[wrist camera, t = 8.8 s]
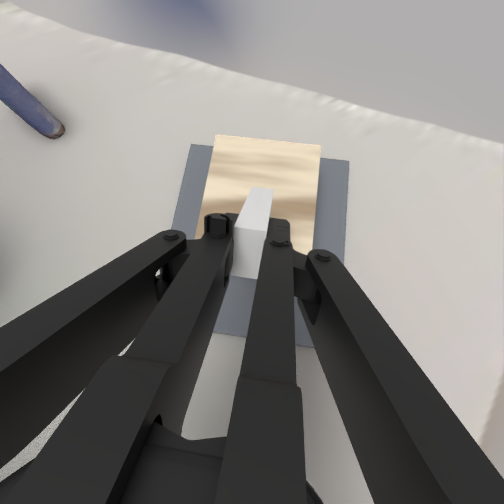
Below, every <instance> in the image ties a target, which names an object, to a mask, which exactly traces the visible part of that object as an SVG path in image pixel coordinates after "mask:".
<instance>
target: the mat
mask: <svg viewBox="0 0 504 504" xmlns="http://www.w3.org/2000/svg"><path fill="white" fill-rule="evenodd" d="M213 147H214V146H205V145H196V144H191V146H190V151H189V155H188V159H187V163H186V168H185V172H184V176H183V181H182V185H181V189H180V193H179V198H178V202H177V206H176V211H175V215H174V219H173V223H172V228H171V229H173V230H179V231H182V232H184V233H185V234H186V240H192V239H195V234H196V229H197V225H198V220H199V215H200V210H201V205H202V200H203V196H204V191H205V186H206V181H207V176H208V171H209V167H210V162H211V157H212V152H213ZM348 174H349V161H345V160H336V159H326V158H320V165H319V176H318V188H317V199H316V211H315V222H314V234H313V245H312V250H313V249H324V250H328V251H330V252H332V253H333V254H335V255H336V256H337V257H338V258H339V260H340V261H341V262H342V264H343V265H344V248H345V229H346V211H347V193H348ZM231 269H232V268H231ZM256 283H257V279H251V278H245V277H238V276H231V271H230V279H229V284H228V287H227V290H226V293H225V296H224V299H223V302H222V305H221V308H220V311H219V314H218V317H217V320H216V323H215V326H214V330H213V332H215V333H222V334H228V335H235V336H241V337H247V332H248V327H249V322H250V316H251V311H252V305H253V300H254V294H255V289H256ZM294 317H295V345H300V346H307V347H313V348H315V347H314V345H313V342H312V340H311V337H310V334H309V332H308V329H307V327H306V324H305V321H304V319H303V316H302V313H301V311H300V308H299V306H298V303H297V297H295V296H294Z"/></svg>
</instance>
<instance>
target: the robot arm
mask: <svg viewBox="0 0 504 504" xmlns="http://www.w3.org/2000/svg"><path fill="white" fill-rule="evenodd" d="M273 193H274V189H268V188H260V187H252V188H251V190H250V192H249V194H248V196H247V199H246V201H245V203H244V205H243V208H242V210H241V212H240V214H235V213H228V212H227V213H225V214H222V213H211V214H208V215H206V216H204V234H203V236H202V237H201V239H192V240H186V234H185V233H184V232H182V231H179V230H173V229H171V230H166V231H162V232H160V233H158V234H156V235H155V236H153V237H151V238H150V239H148V240H146V241H145V242H143V243H141V244H140V245H138V246H136V247H135V248H133V249H131V250H130V251H128V252H126V253H125V254H123V255H121V256H120V257H118V258H116V259H114V260H113V261H111V262H109V263H108V264H106V265H104V266H103V267H101V268H99V269H98V270H96V271H94V272H93V273H91V274H89V275H88V276H86V277H84V278H83V279H81V280H79V281H78V282H76V283H74V284H73V285H71V286H69V287H68V288H66V289H64V290H63V291H61V292H59V293H57V294H56V295H54V296H52V297H51V298H49V299H47V300H46V301H44V302H42V303H41V304H39V305H37V306H36V307H34V308H32V309H31V310H29V311H27V312H26V313H24V314H22V315H21V316H19V317H17V318H16V319H14V320H12V321H11V322H9V323H7V324H6V325H4V326H2V327H0V469H1V468H2V467H3V466H4V465H6V464H7V463H8V462H9V461H10V460H12V459H13V458H14V457H15V456H16V455H17V454H19V453H20V452H21V451H22V450H23V449H24V448H25V447H26V446H27V445H28V444H29V443H30V442H31V441H32V440H33V439H34V438H36V437H37V436H38V435H39V434H40V433H41V432H42V431H43V430H44V429H45V428H46V427H47V426H48V425H49V424H50V423H51V422H52V421H53V420H54V419H55V418H56V417H57V416H58V415H59V414H60V413H61V412H62V411H63V410H64V409H65V408H66V407H67V406H68V405H69V404H70V403H71V402H72V401H73V400H74V399H75V398H76V397H77V396H78V395H79V394H80V393H81V392H82V391H83V390H84V389H85V390H84V391H83V392H82V394H81V395H80V397H79V398H78V399H77V401H76V402H75V404H74V405H73V406H72V408H71V409H70V410H69V412H68V413H67V415H66V416H65V417H64V419H63V420H62V422H61V423H60V424H59V426H58V427H57V429H56V430H55V431H54V433H53V434H52V436H51V437H50V438H49V440H48V441H47V443H46V444H45V445H44V447H43V448H42V450H41V451H40V452H39V454H38V455H37V457H36V458H34V459H33V460H31V461H30V462H28V463H27V464H26V465H24V466H23V467H21V468H20V469H18V470H17V471H15V472H14V473H13V474H11V475H10V476H8V477H7V478H5V479H4V480H2V481H1V482H0V504H323V502H322V500H321V499H320V497H319V496H318V495H317V493H316V492H315V490H314V489H313V488H312V486H311V485H310V484H309V483H308V482H307V481H306V474H305V452H304V430H303V407H302V394H301V389H300V387H297V384H296V355H295V317H294V296H295V297H297V303H298V306H299V308H300V311H301V313H302V316H303V319H304V321H305V324H306V327H307V329H308V332H309V334H310V337H311V340H312V342H313V345H314V347H315V350H316V353H317V355H318V358H319V360H320V363H321V366H322V368H323V371H324V373H325V376H326V379H327V381H328V384H329V387H330V389H331V392H332V394H333V397H334V400H335V402H336V405H337V407H338V410H339V413H340V415H341V418H342V420H343V423H344V426H345V428H346V431H347V433H348V436H349V439H350V441H351V444H352V447H353V449H354V452H355V454H356V457H357V460H358V462H359V465H360V467H361V470H362V473H363V475H364V478H365V480H366V483H367V486H368V488H369V491H370V494H371V496H372V499H373V501H374V504H504V479H503V478H502V476H501V475H500V474H499V472H498V471H497V470H496V468H495V467H494V466H493V464H492V463H491V462H490V460H489V459H488V458H487V456H486V455H485V454H484V452H483V451H482V450H481V448H480V447H479V446H478V444H477V443H476V442H475V440H474V439H473V438H472V436H471V435H470V434H469V432H468V431H467V429H466V428H465V427H464V425H463V424H462V423H461V421H460V420H459V419H458V417H457V416H456V415H455V413H454V412H453V411H452V409H451V408H450V407H449V405H448V404H447V403H446V401H445V400H444V399H443V397H442V396H441V395H440V393H439V392H438V391H437V389H436V388H435V387H434V385H433V384H432V383H431V381H430V380H429V379H428V377H427V376H426V375H425V373H424V372H423V371H422V369H421V368H420V367H419V365H418V364H417V363H416V361H415V360H414V359H413V357H412V356H411V355H410V353H409V352H408V351H407V349H406V348H405V347H404V345H403V344H402V343H401V341H400V340H399V339H398V337H397V336H396V335H395V333H394V332H393V331H392V329H391V328H390V327H389V325H388V324H387V323H386V321H385V320H384V319H383V317H382V316H381V314H380V313H379V312H378V310H377V309H376V308H375V306H374V305H373V304H372V302H371V301H370V300H369V298H368V297H367V296H366V294H365V293H364V292H363V290H362V289H361V288H360V286H359V285H358V284H357V282H356V281H355V280H354V278H353V277H352V276H351V274H350V273H349V272H348V270H347V269H346V268H345V266H344V265H343V264H342V262H341V261H340V260H339V258H338V257H337V256H336V255H335V254H333V253H332V252H330V251H328V250H324V249H313V250H311V251H309V252H308V255H305V254H302V253H299V252H297V251H296V250H294V249H293V245H292V242H291V241H290V223H289V222H288V221H287V220H286V219H278V218H271V217H270V215H271V207H272V200H273ZM231 268H232V269H231ZM159 269H160V274H159V275H158V276H155V274H156V272H157V271H158V270H159ZM230 271H231V276H238V277H245V278H251V279H257V283H256V289H255V294H254V300H253V305H252V311H251V316H250V322H249V327H248V332H247V338H246V343H245V349H244V354H243V360H242V365H241V371H240V375H239V377H238V381H237V386H236V391H235V396H234V402H233V407H232V412H231V418H230V423H229V428H228V434H227V437H218V438H210V439H201V440H187V439H185V438H183V437H181V432H182V426H183V421H184V418H185V414H186V411H187V408H188V405H189V402H190V399H191V396H192V393H193V390H194V387H195V384H196V381H197V378H198V375H199V372H200V369H201V366H202V363H203V360H204V357H205V354H206V351H207V348H208V345H209V342H210V339H211V336H212V333H213V330H214V326H215V323H216V320H217V317H218V314H219V311H220V308H221V305H222V302H223V299H224V296H225V293H226V290H227V287H228V284H229V279H230ZM134 339H135V340H134ZM133 340H134V341H133ZM132 341H133V343H132V344H131V346H130V347H129V349H128V350H127V351H126V353H125V354H124V355H122V356H118V355H119V354H120V353H121V352H122V351H123V350H124V349H125V348H126V347H127V346H128V345H129V344H130V343H131V342H132Z"/></svg>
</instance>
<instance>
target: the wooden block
mask: <svg viewBox="0 0 504 504" xmlns="http://www.w3.org/2000/svg"><path fill="white" fill-rule="evenodd" d="M320 153H321V145H313V144H303V143H294V142H284V141H275V140H265V139H255V138H246V137H236V136H227V135H217V134H216V138H215V142H214V147H213V152H212V157H211V162H210V167H209V171H208V176H207V181H206V186H205V191H204V196H203V200H202V205H201V210H200V215H199V220H198V225H197V229H196V234H195V239H201V237H202V236H203V234H204V216H206V215H208V214H211V213H222V214H225V213H227V212H228V213H235V214H240V212H241V210H242V208H243V205H244V203H245V201H246V199H247V196H248V194H249V192H250V190H251V188H252V187H260V188H268V189H274V193H273V200H272V207H271V215H270V217H271V218H278V219H286V220H287V221H288V222H289V223H290V241H291V242H292V245H293V249H294V250H296V251H297V252H299V253H302V254H305V255H308V252H309V251H311V250H312V245H313V234H314V222H315V211H316V199H317V188H318V176H319V165H320Z"/></svg>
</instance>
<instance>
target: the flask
mask: <svg viewBox="0 0 504 504" xmlns="http://www.w3.org/2000/svg"><path fill="white" fill-rule="evenodd" d="M0 100H1V101H2V102H3V103H4V104H6V105H7V106H8V107H9V108H10V109H11V110H13V111H14V112H15V113H16V114H17V115H19V116H20V117H21V118H22V119H23V120H24V121H26V123H28V124H29V125H30V126H32V127H33V128H34V129H35V130H37V131H38V132H39V133H41V134H43V135H44V136H46V137H48V138H53V139H54V138H57V137H59V136H60V135H61V133H62V132H64V129H63V125H62V124H61V123H60V121H59V120H57V119H56V118H55V117H54V116H53V115H52V114H51V113H50V112H49V111H48V110H47V109H46V108H45V107H44V106H43V105H42V104H41V103H40V102H39V101H38V100H37V99H35V98H34V97H33V96H32V95H31V94H30V93H29V92H28V91H27V90H26V89H25V88H24V87H23V86H22V85H21V84H20V83H19V82H18V81H17V80H16V79H15V78H14V77H13V76H12V75H11V74H10V73H9V72H8V71H7V70H6V69H5V68H4V67H3V66H2V65H1V64H0ZM54 135H58V136H54Z"/></svg>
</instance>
